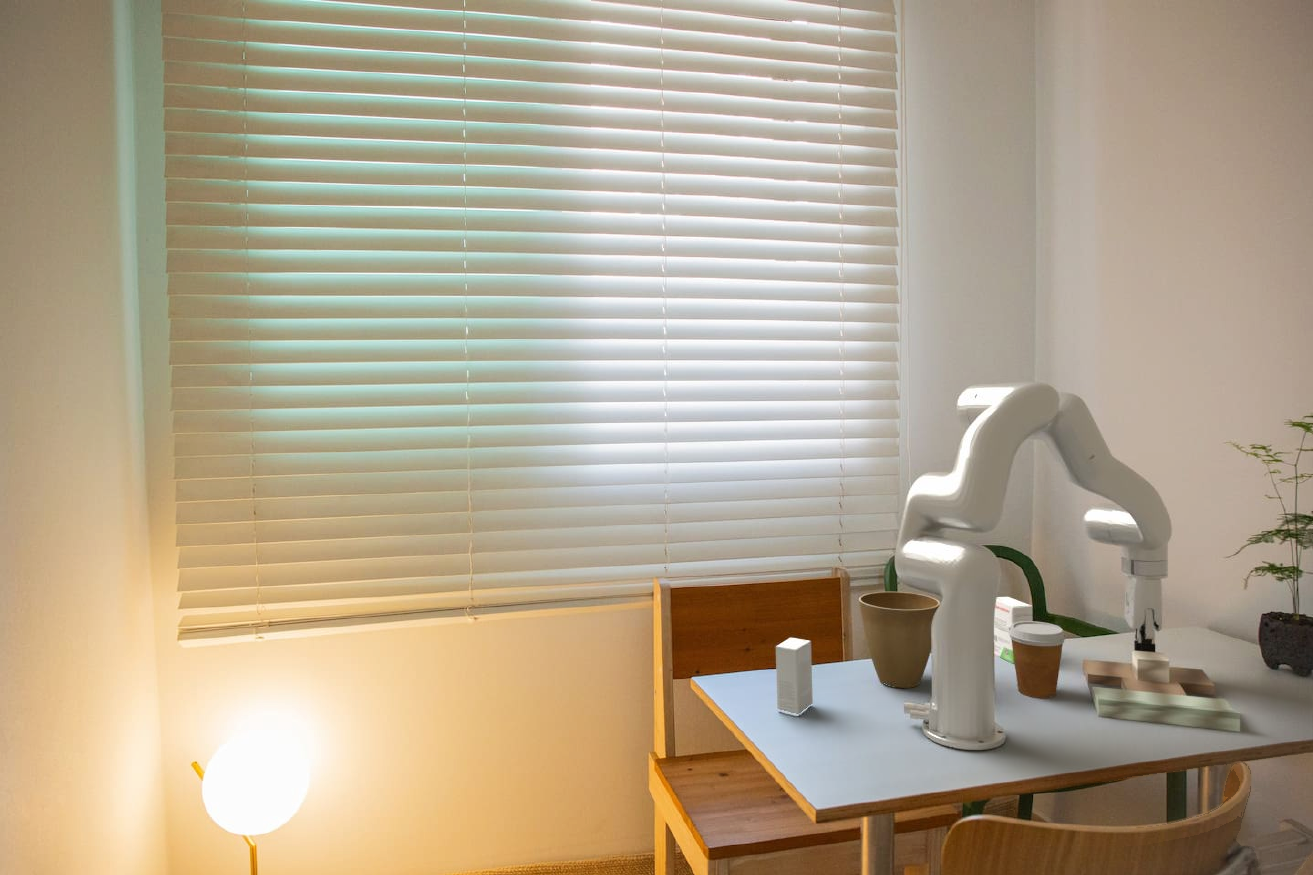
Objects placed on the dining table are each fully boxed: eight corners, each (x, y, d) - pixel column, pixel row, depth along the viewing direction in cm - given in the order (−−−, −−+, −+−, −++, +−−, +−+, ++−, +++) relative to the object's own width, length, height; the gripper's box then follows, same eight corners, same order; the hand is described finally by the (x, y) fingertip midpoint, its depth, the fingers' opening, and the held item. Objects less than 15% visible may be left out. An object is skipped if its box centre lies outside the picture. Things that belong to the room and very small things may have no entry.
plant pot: (942, 698, 147) (941, 611, 146) (857, 691, 152) (856, 607, 151) (940, 671, 161) (939, 592, 160) (862, 666, 166) (861, 588, 165)
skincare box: (791, 701, 148) (790, 636, 147) (813, 706, 145) (812, 640, 145) (776, 712, 143) (774, 645, 142) (798, 717, 140) (797, 649, 140)
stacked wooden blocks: (1098, 716, 137) (1098, 698, 137) (1082, 669, 160) (1082, 654, 160) (1240, 731, 130) (1240, 713, 130) (1202, 679, 153) (1202, 664, 153)
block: (1137, 680, 148) (1137, 658, 148) (1132, 671, 153) (1132, 650, 152) (1169, 683, 146) (1169, 661, 146) (1163, 673, 151) (1163, 652, 151)
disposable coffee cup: (997, 686, 152) (996, 623, 152) (1038, 680, 155) (1037, 618, 154) (1035, 704, 143) (1035, 637, 142) (1078, 697, 146) (1078, 631, 145)
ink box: (1034, 662, 165) (1034, 605, 165) (1012, 664, 164) (1012, 606, 164) (1008, 649, 174) (1008, 595, 173) (987, 651, 173) (987, 596, 172)
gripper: (1115, 558, 161) (1116, 649, 162) (1128, 574, 147) (1128, 674, 148) (1159, 559, 158) (1159, 652, 159) (1176, 576, 144) (1176, 678, 145)
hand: (1144, 662), depth 154 cm, fingers closed
